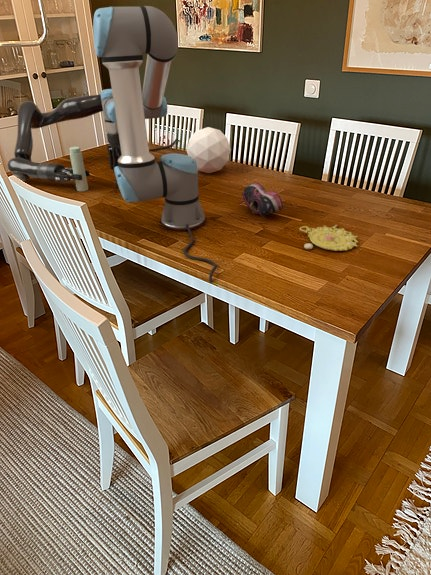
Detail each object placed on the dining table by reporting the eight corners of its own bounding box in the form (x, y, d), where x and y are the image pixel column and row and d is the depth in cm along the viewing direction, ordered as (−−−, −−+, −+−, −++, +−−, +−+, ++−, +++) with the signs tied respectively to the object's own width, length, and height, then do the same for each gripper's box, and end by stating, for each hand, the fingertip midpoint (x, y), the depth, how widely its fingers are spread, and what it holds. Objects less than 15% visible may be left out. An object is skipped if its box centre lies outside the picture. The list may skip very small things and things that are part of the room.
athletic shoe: (254, 181, 170) (227, 189, 167) (283, 176, 151) (253, 185, 147) (260, 210, 173) (234, 218, 170) (290, 209, 154) (261, 219, 150)
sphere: (214, 188, 203) (213, 162, 184) (180, 167, 207) (175, 139, 188) (238, 160, 207) (239, 131, 189) (204, 140, 212) (202, 110, 193)
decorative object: (343, 255, 128) (285, 234, 139) (342, 262, 130) (284, 241, 140) (372, 230, 142) (317, 213, 152) (371, 237, 143) (316, 219, 153)
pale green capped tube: (90, 188, 188) (83, 147, 178) (82, 192, 184) (74, 150, 175) (82, 186, 190) (74, 145, 181) (74, 190, 187) (65, 148, 177)
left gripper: (63, 175, 196) (96, 178, 191) (42, 186, 184) (77, 190, 179) (59, 158, 192) (93, 161, 187) (38, 168, 180) (73, 171, 175)
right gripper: (138, 134, 171) (144, 191, 183) (110, 126, 182) (118, 181, 194) (121, 138, 166) (130, 196, 179) (95, 130, 177) (104, 185, 190)
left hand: (85, 175), depth 183 cm, fingers closed on pale green capped tube, 4 cm apart
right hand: (124, 188), depth 187 cm, fingers closed on lid, 6 cm apart
